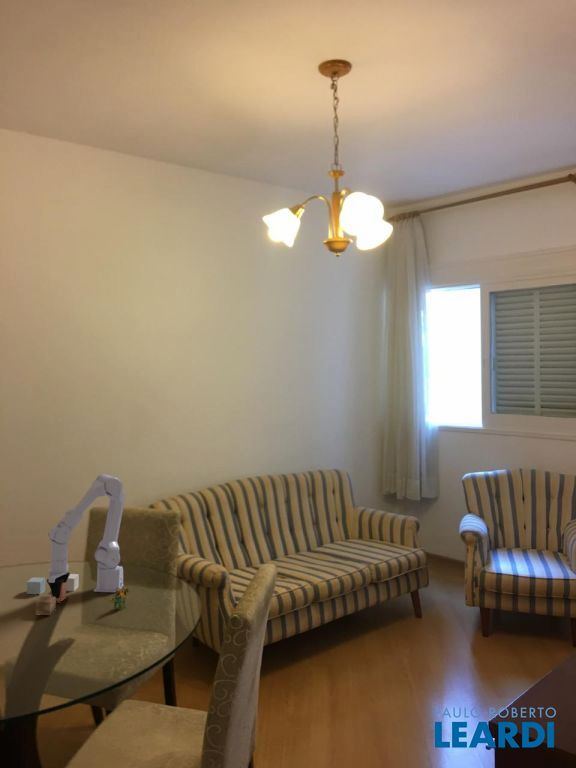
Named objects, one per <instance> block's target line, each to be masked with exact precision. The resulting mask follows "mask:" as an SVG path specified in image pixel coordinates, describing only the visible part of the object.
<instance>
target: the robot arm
mask: <svg viewBox="0 0 576 768" xmlns="http://www.w3.org/2000/svg"><path fill="white" fill-rule="evenodd" d="M123 486H124V482H122V481H121V480H120V478H119V477H116V476H112V475H108V474H107V473H101V474H99V475H98V476H96V479H94V480H93V481H92V483H91V486H90V488H89V489H88V490H87V491H86V493H85V494H84V495H83V497H82V498H81V500H80V501H79V502H78V504H77V505H76V506H75V507H73V508H70V509H69V510H67V509H66V511H65V515H63V517H62V518H61V519H60V521H57V523H56V525H53V526H52V527H51V528H50V529H49V533H47V537H48V539H50V569H48V570H47V572H46V573H47V574H49V575H48V578H46V582H47V585H49V587H50V588H49V589H50V593H51V592H52V596H53V597H56V598H59V597H60V591H61V586H62V583H63V582H67V580H68V577H69V575H70V574H71V573H70V572H68V571H69V564H68V541H69V540H70V539H71V535H72V532H73V530H74V529H75V528H76V527H77V526H78V525H79V524H80V522H81V520H83V518H84V516H83V513H85V511H87V509H88V508H89V507H91V505H92V504H93V503H94V502H95V501H96V499H98V498H100V497H104V496H107V497H108V499H109V506H108V510H107V516H106V520H105V521H106V522H105V525H104V531H103V537H102V540H101V541H100V542H99V543H98V546H97V549H96V550H95V552H94V559H95V561H96V562H97V568H96V569H97V572H96V573H97V575H96V576H97V579H96V581H97V582H96V587H95V588H94V589H93V592H94V593H98V592H99V593H116V592H115V591H119V589H117V590H116V588H117V587H118V588H120V590H121V589H122V588H123V587H124V567H123V566H120V565H119V564H120V561H121V555H120V550H121V549H120V546H119V543H118V539H119V534H120V528H121V522H122V516H123V511H124V508H125V507H124V505H125V501H126V494H125V490H124V487H123Z"/></svg>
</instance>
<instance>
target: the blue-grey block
mask: <svg viewBox="0 0 576 768" xmlns="http://www.w3.org/2000/svg"><path fill="white" fill-rule="evenodd" d="M46 582H47V578H46V577H34V576H33V577H31V578H30V579H29V580H27V581H26V595H27V594H41V593H42V594H43V593H44V592H45V591H46ZM42 594H41V595H42Z"/></svg>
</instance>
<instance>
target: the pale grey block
mask: <svg viewBox="0 0 576 768" xmlns="http://www.w3.org/2000/svg"><path fill="white" fill-rule="evenodd" d="M79 575H80V574H78V573H70V575H69V577H68V580H67V582H66V592H75V591H76V590H77V589H78V588H79V582H80V581H79V580H80V579H79V578H80V577H79Z"/></svg>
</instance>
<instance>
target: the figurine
mask: <svg viewBox="0 0 576 768" xmlns="http://www.w3.org/2000/svg"><path fill="white" fill-rule="evenodd" d="M123 587H124V586H123ZM117 589H119V591H115V592H114V593H116V594H114V595H113V596H112V597H111V598H110V599H109V600H108V601H107V603H113V604H114V606H113V607H114V610H118V612H119V611H122V609H121V608H120V607H123V608H126V605H125V603H126V601H127V600H128V599H129V597H128V594H129V593H130V590H129V588H128V587H126V586H125V587H124V588H123V589H122V590H121V589H120V588H118V587H117V588H116V590H117ZM117 605H118V606H117ZM116 606H117V607H116Z"/></svg>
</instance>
